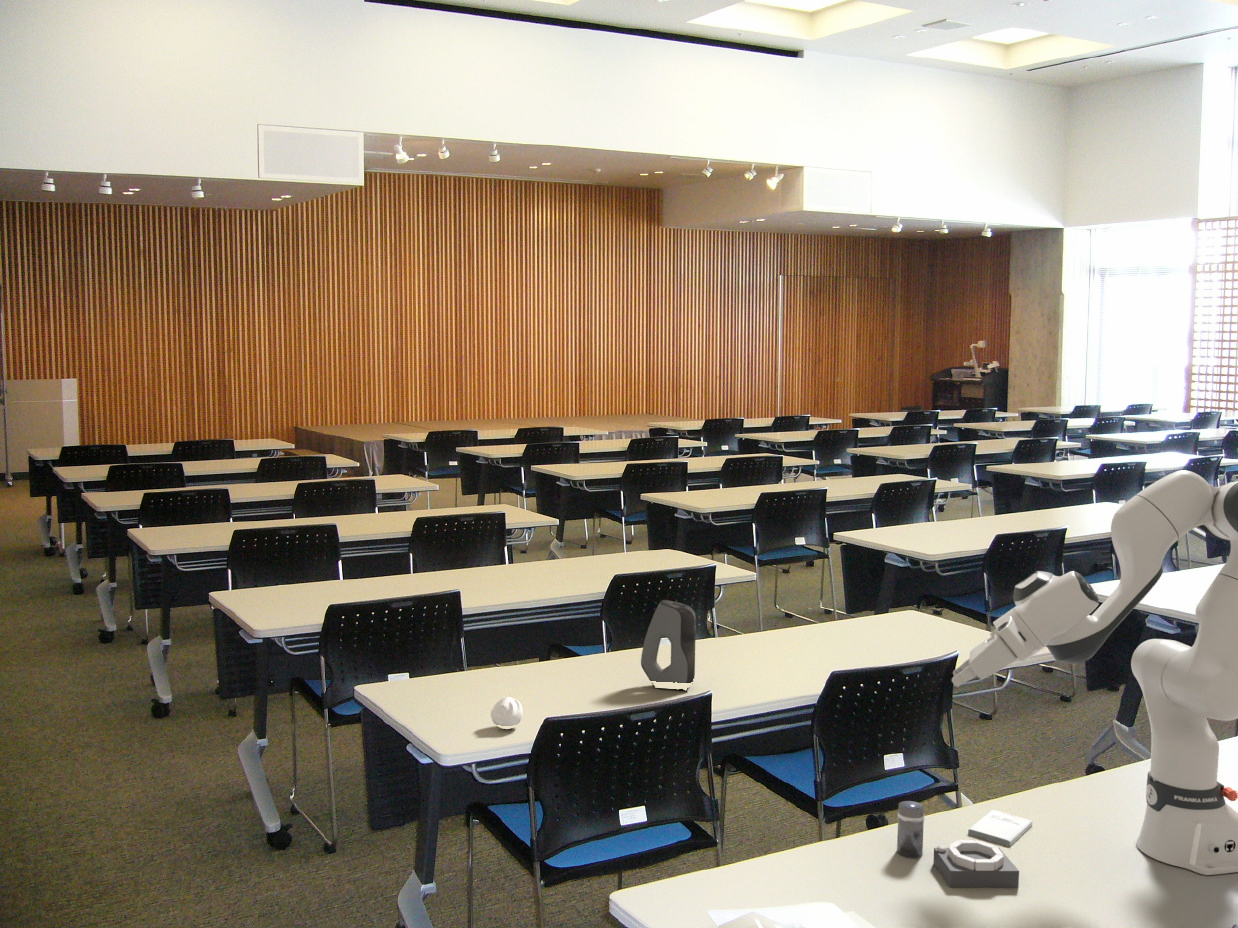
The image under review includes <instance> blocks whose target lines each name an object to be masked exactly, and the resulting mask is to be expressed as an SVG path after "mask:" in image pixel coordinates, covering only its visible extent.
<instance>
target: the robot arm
mask: <svg viewBox="0 0 1238 928" xmlns="http://www.w3.org/2000/svg"><path fill="white" fill-rule="evenodd" d="M1195 528H1198V529H1200V530H1202V531H1203V532H1205V533H1207V534H1208V535H1209V536H1211V537H1213V538H1214V539H1218V540H1220V541H1224V542H1229V544H1230V551H1229V554H1228V555H1229V556H1228V557H1227V561H1226V562H1225V564H1224V565H1223V566H1222V568H1221V569H1220V570H1219V572H1218V573H1217V575H1216V577H1215V578H1214V580H1213V581H1212V582H1211V584H1210V585H1209V587H1208V588H1207V590H1206V591H1205V592H1204V594H1203V596H1202V597H1201V599H1200V600H1199V602H1198V604H1197V605H1196V608H1195V618H1196V619H1197V621H1198V630H1197V635H1196V638H1195V640H1194V643H1193V645H1192V646H1190V645H1188V644H1185V643H1183V642H1180V641H1178V640H1172V639H1165V638H1151V639H1147V640H1145V641H1143V642H1141V643H1140V644H1139V645H1138V646H1137V647H1136V649H1134V651H1133V654H1132V656H1131V660H1130V666H1131V667H1130V668H1131V671H1132V674H1133V676H1134V677H1135V679H1136V680H1137V683H1138V684H1139V686H1140V690H1141V691H1142V695H1143V697H1144V702H1145V706H1146V709H1147V715H1148V719H1149V720H1148V721H1149V726H1150V733H1151V743H1150V744H1151V745H1150V747H1151V748H1150V767H1149V769H1150V770H1149V771H1148V772H1147V778H1146V788H1145V789H1146V791H1145V792H1146V793H1145V798H1146V799H1145V800H1146V801H1145V802H1146V807H1145V814H1144V819H1143V822H1142V826H1141V829H1140V831H1139V835H1138V837H1137V839H1136V846H1137V848H1138V849H1139V850H1140V851H1141V852H1143V854H1145V855H1146V856H1148V857H1150V858H1152V859H1154V860H1156V861H1159V862H1162V863H1164V864H1167V865H1171V866H1175V867H1180V868H1182V869H1186V870H1188V871H1193V872H1194V873H1198V874H1201V875H1204V876H1212V875H1213V876H1214V875H1222V874H1223V875H1224V874H1229V873H1230V874H1231V873H1233V874H1234V873H1238V811H1236V810H1235V809H1234V808H1232V807H1231V806H1230V805H1229V804H1228V803H1226V800H1225V798H1226V799H1227V800H1229V801H1230V802H1236V801H1237V799H1238V792H1237V791H1236V790H1234V789H1233V788H1232V787H1229V786H1227V787H1225V785H1223V784H1222V782H1219V781H1218V772H1219V755H1220V745H1219V742H1218V741H1219V740H1218V739H1217V736H1216V735H1215V733H1214V731H1213V730H1212V728H1211V726H1210V724H1209V720H1208V719H1211V720H1217V721H1222V722H1230V721H1235V720H1237V719H1238V480H1237V481H1232V482H1229V483H1226V484H1223V485H1220V486H1213V485H1211V484H1210V483H1208V481H1207V480H1206V479H1205V478H1204V477H1202V476H1201V475H1199V474H1197V473H1196V472H1193V471H1191V470H1186V469H1183V470H1182V469H1180V470H1177V471H1174V472H1172V473H1170V474H1167V475H1165V476H1164V477H1162V478H1160V479H1158V480H1156V481H1154V482H1153V483H1151V484H1150V485H1148V486H1146V487H1145V488H1144V489H1142V490H1140V491H1139V492H1138V493H1136V494H1135V495H1134V496H1133V497H1131V498H1129V500H1127V501H1126V502H1125V503H1124V504H1123V505H1121V507H1120V508H1118V509H1117V510H1116V512H1115V513H1114V515H1113V517H1112V521H1111V524H1110V536H1111V541H1112V545H1113V549H1114V551H1115V554H1116V557H1117V560H1118V564H1119V567H1120V569H1119V570H1120V580H1119V583H1118V585H1117V587H1116V589H1115V590H1114V591H1113V592H1112V593H1111V594H1110V595H1109V596H1108V597H1107V598H1106V599H1105V600H1104V601H1103V603H1102V604H1100V601H1099V597H1098V594H1097V593H1096V591H1095V590H1094V588H1093V587H1092V585H1091V584H1090V583H1089V582H1088V581H1087V579H1086V578H1085V576H1083V575H1082V574H1080V573H1079V572H1077V571H1075V570H1070V571H1068V572H1067V573H1064V574H1062V575H1060V576H1059V575H1054V573H1051V572H1048V571H1043V570H1042V571H1041V570H1036V571H1033V573H1031V574H1030V575H1029V576H1027V577H1026V578H1024V579H1023V580H1021V581H1019V583H1017V584H1015V586H1014V589H1013V597H1012V598H1013V602H1014V605H1015V606H1014V607H1012V608H1011V609H1010V610H1008V611H1006V613H1004V614H1002V615H1001V616H999V617H998V618H996V619H995V620H994V621H993V622H992V624H993V626H994V627H995V629H994V630H993V631H992V630H991V632H989V635H990V636H989V637H988V638H986V639H985V640H984V641H983V642H980V644H978V645H977V646H975V647H974V648H972V649H971V650H970V652H969V658H967V659H966V660H965V661H964V662H963V663H962V664H961V665H960V666H959V667H957V668H956V669H954V670H953V671H952V674H953V677H952V678H951V683H952V684H953V685H954V686H955V687H956V688H958V687H959V688H960V686H961V685H963V684H965V683H967V682H968V681H971V680H973V679H974V678H976V677H978V679H980V680H982V679H985V678H988V677H990V676H993V675H994V674H996V673H998V672H1000V671H1001V670H1003V669H1006V668H1007V667H1008V666H1009V665H1012V664H1013V663H1014V662H1016V661H1017V660H1018V661H1020V662H1021V661H1022V662H1026V661H1027V660H1029V659H1031V657H1033V656H1035V655H1036V654H1037V653H1039V652H1040V651H1042V650H1044V649H1045V647H1046V648H1047V649H1048V651H1049V652H1050V654H1051V655H1052V657H1053V658H1054V659H1055V661H1058V662H1062V663H1065V664H1070V665H1080V664H1082V663H1085V662H1086V661H1088V660H1089V659H1092V657H1093V656H1094V655H1096V653H1098V651H1099V649H1101V647H1102V646H1104V643H1105V642H1106V640H1107V639H1108V637H1109V636H1110V635H1111V634H1112V633H1113V631H1115V629H1116V628H1118V626H1119V625H1120V624H1121V623H1122V622H1123V621H1124V620H1125V619H1126V617H1128V615H1129V614H1131V612H1132V611H1133V610H1134V609H1135V608H1136V607H1137V606H1138V605H1139V604H1140V603H1141V601H1143V599H1144V598H1145V597H1146V596H1147V595H1148V594H1149V593H1150V592H1151V591H1152V590H1153V588H1154V587H1155V585H1156V584H1157V583H1158V582H1159V580H1160V578H1161V577H1162V575H1163V572H1164V570H1163V562H1164V558H1165V557H1166V554H1167V552H1168V551H1169V549H1170V548H1171V547H1172V546H1173V545H1174V544H1175V543H1177V542H1178V541H1179V540H1180V539H1181V538H1183V537H1184V536H1185V535H1187V534H1188V532H1190V531H1192V530H1194V529H1195ZM1099 604H1100V606H1099ZM1098 606H1099V607H1098ZM1097 607H1098V608H1097ZM1092 612H1093V613H1092ZM1090 614H1091V615H1090Z"/></svg>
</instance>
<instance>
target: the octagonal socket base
mask: <svg viewBox="0 0 1238 928" xmlns="http://www.w3.org/2000/svg"><path fill="white" fill-rule="evenodd" d="M933 865H934V867H935V868H936V869H937V872H938V873H940V875H941V877H942V878H943V880H944V881H945V882H946V884H947V886H948V887H949V888H952V889H954V888H959V889H961V888H963V889H964V888H967V889H968V888H973V889H974V888H978V889H979V888H984V889H985V888H986V889H987V888H994V889H995V888H997V889H998V888H1001V889H1003V888H1007V889H1008V888H1010V889H1011V888H1012V889H1013V888H1016V889H1017V888H1019V885H1020V883H1019V882H1020V870H1019V869H1018V868H1017V867H1016V865H1014V863H1013V862H1012V860H1010V858H1009V857H1008V856H1007V855H1006V854H1005V852H1004V851H1003V850H1002V849H1001V848H1000V847H998V846H996V845H993V844H990V843H987V842H986V841H985V842H984V841H981V840H977V839H958V840H955V841H954V842H952V843H951V844H949V845H948V847H946V846H944V845H938V846H936V847H933Z"/></svg>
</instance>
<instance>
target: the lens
mask: <svg viewBox="0 0 1238 928" xmlns="http://www.w3.org/2000/svg"><path fill="white" fill-rule="evenodd" d="M925 816H926V815H925V806H924V805H923V804H922V803H920V802H917V801H913V800H903V801H900V802H898V810H897V840H896V852H897V854H898V855H900V856H901V857H903V858H907V859H918V858H921V857H922V856H923V853H924V851H923V849H924V848H923V847H924V846H923V845H924V828H925V827H924V826H925V825H924V824H925V823H924V821H925Z"/></svg>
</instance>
